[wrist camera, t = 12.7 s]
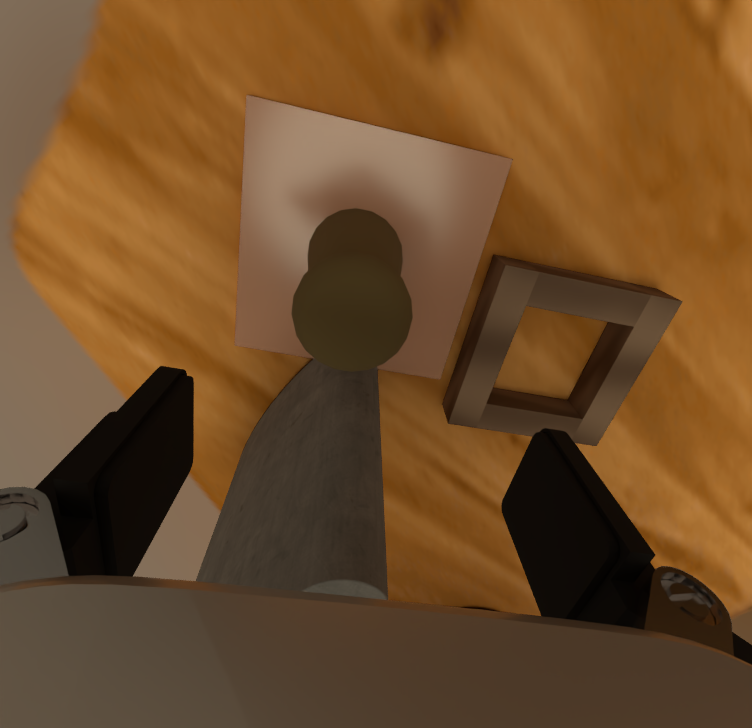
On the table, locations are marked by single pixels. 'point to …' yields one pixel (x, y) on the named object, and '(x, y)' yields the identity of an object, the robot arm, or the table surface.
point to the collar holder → (600, 376)
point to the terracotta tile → (368, 192)
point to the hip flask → (308, 493)
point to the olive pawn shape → (353, 293)
